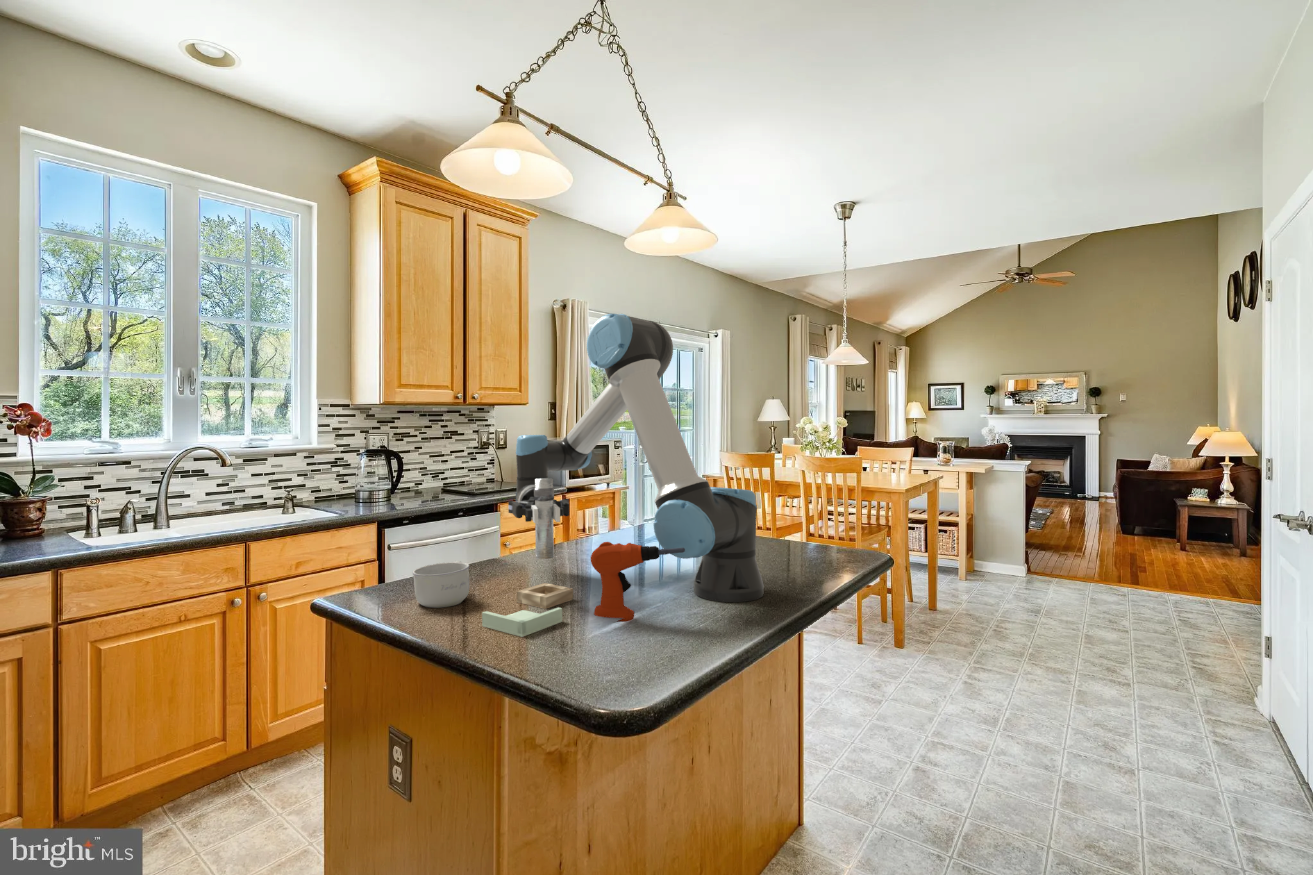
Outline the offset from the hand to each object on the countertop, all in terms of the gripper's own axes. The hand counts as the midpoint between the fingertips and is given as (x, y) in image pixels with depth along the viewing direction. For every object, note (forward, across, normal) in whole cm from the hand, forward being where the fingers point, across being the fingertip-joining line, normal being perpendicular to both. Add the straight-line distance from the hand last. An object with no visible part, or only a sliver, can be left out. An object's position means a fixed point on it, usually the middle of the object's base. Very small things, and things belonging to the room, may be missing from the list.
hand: (547, 515), depth 121 cm
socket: (-6, 0, -19) cm, 20 cm away
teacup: (-11, +19, -19) cm, 29 cm away
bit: (-5, 0, -9) cm, 11 cm away
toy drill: (+9, -16, -20) cm, 27 cm away
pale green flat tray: (+8, +6, -19) cm, 21 cm away
